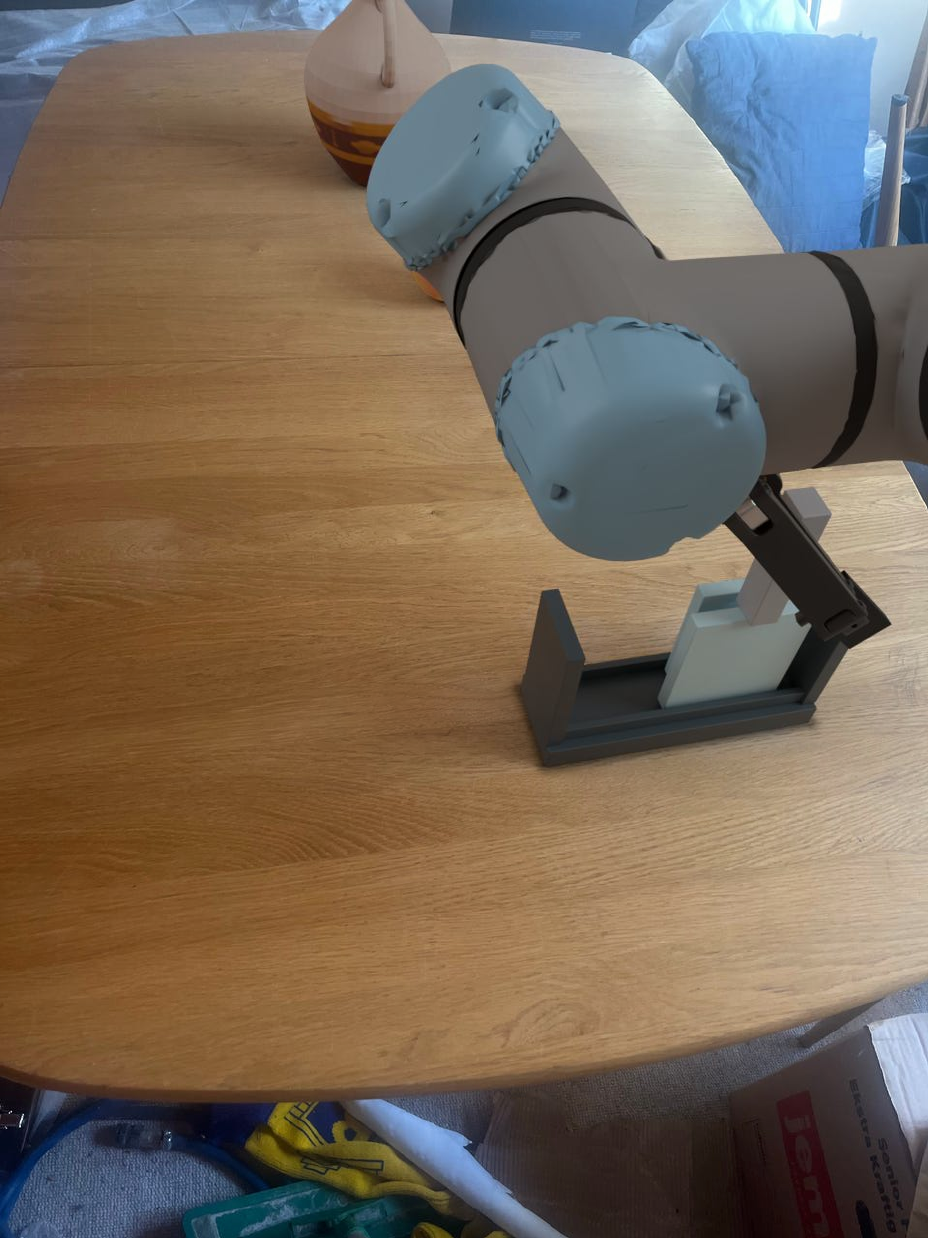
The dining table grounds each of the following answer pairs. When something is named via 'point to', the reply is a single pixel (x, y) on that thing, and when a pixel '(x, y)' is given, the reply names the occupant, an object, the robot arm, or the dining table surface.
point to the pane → (743, 632)
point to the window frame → (651, 690)
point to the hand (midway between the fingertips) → (814, 548)
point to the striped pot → (368, 78)
